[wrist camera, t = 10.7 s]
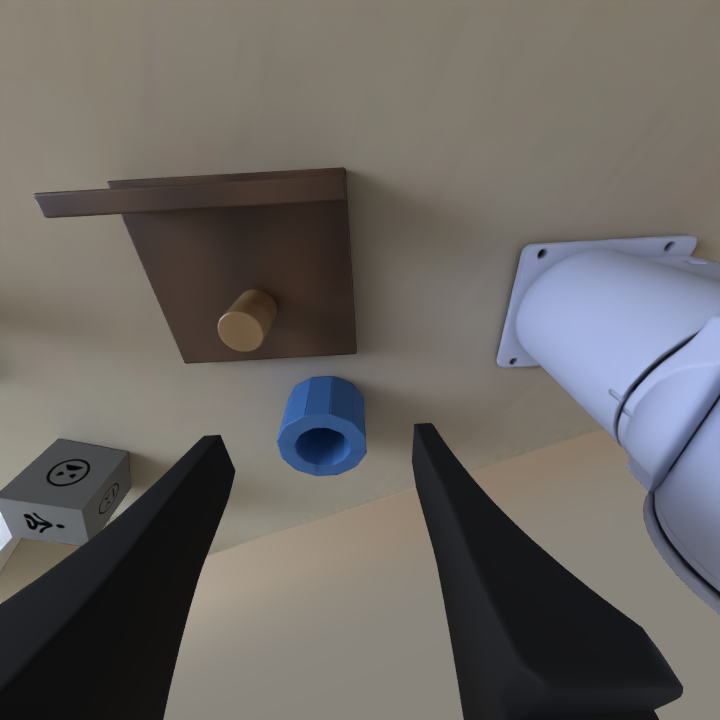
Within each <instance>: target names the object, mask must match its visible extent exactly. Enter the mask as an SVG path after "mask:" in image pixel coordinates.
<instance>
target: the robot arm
mask: <svg viewBox="0 0 720 720" xmlns="http://www.w3.org/2000/svg"><path fill="white" fill-rule="evenodd" d="M667 244H668V246H667V247H666V248H665V246H666V245H667ZM696 244H697V238H696V237H695V236H691V235H675V236H657V237H640V238H623V239H605V240H588V241H570V242H553V243H536V244H529V245H527V246H526V247H525V248H524V249H523V250H522V253H521V256H520V260H519V265H518V269H517V273H516V278H515V282H514V286H513V291H512V295H511V299H510V304H509V308H508V313H507V317H506V321H505V326H504V330H503V334H502V339H501V343H500V347H499V352H498V356H497V363H498V365H499V366H500V367H502V368H509V367H526V366H541V367H542V368H543V369H544V370H545V371H546V372H547V373H548V374H549V375H550V376H551V377H552V378H553V379H554V380H555V381H556V382H557V383H558V384H559V385H560V386H561V387H562V388H563V389H564V390H565V391H566V392H567V393H568V394H569V395H570V396H571V397H572V398H573V399H574V400H575V401H576V402H577V403H578V404H579V405H580V406H581V407H582V408H583V409H584V410H585V411H586V412H587V413H588V414H589V415H590V416H591V417H592V418H593V419H594V420H595V421H596V422H597V423H598V424H599V425H600V426H601V427H602V428H603V429H604V430H605V431H606V432H607V433H608V434H609V435H610V436H611V437H612V438H613V439H614V440H615V441H616V442H617V443H619V445H620V446H622V447H623V448H624V449H625V451H626V452H627V454H628V455H629V462H628V465H627V469H628V470H629V471H630V472H631V473H632V474H633V475H634V477H635V478H636V479H637V480H638V481H639V482H640V483H641V484H642V485H643V486H644V487H645V488H646V489H647V490H648V491H649V493H648V494H647V496H646V497H645V501H644V506H643V513H644V521H645V525H646V528H647V531H648V533H649V535H650V537H651V539H652V542H653V543H654V545H655V547H656V548H657V550H658V551H659V553H660V554H661V556H662V557H663V559H664V560H665V561H666V563H667V564H668V565H669V566H670V568H671V569H672V570H673V571H674V572H675V574H676V575H677V576H678V577H679V578H680V579H681V580H682V581H683V582H684V583H685V584H686V585H687V586H688V587H689V588H690V589H691V590H692V591H693V592H694V593H695V594H696V595H697V596H698V597H699V598H701V599H702V600H703V601H704V602H705V603H706V604H708V605H709V606H710V607H711V608H712V609H713V610H714V611H716V612H717V613H718V614H720V263H718V262H713V261H709V260H705V259H701V258H697V257H692V256H691V254H692V252H693V250H694V249H695V247H696ZM542 249H543V254H542V255H541V256H540V257H537V254H538V252H539V251H540V250H542ZM513 358H515V359H514V360H513V361H511V362H510V360H511V359H513ZM412 464H413V471H414V477H415V483H416V488H417V492H418V496H419V499H420V503H421V507H422V510H423V514H424V517H425V521H426V525H427V528H428V531H429V536H430V539H431V542H432V546H433V549H434V554H435V558H436V562H437V567H438V572H439V578H440V582H441V588H442V593H443V599H444V604H445V610H446V615H447V621H448V626H449V632H450V638H451V644H452V650H453V655H454V661H455V667H456V673H457V679H458V686H459V692H460V699H461V705H462V711H463V717H464V720H659V718H658V717H657V715H656V713H655V711H654V710H655V709H657V708H659V707H661V706H664V705H666V704H668V703H670V702H672V701H674V700H676V699H678V698H679V697H681V695H682V693H683V686H682V685H681V683H680V681H679V680H678V678H677V677H676V675H675V674H674V672H673V671H672V669H671V667H670V666H669V664H668V663H667V661H666V660H665V658H664V657H663V655H662V654H661V652H660V651H659V649H658V648H657V647H656V645H655V644H654V643H653V642H652V640H651V639H650V638H649V636H648V635H647V633H646V632H645V631H644V629H643V628H642V627H641V626H639V625H638V624H636V623H635V622H634V621H633V620H631V619H630V618H628V617H627V616H626V615H624V614H623V613H622V612H620V611H619V610H618V609H616V608H615V607H614V606H612V605H611V604H610V603H608V602H607V601H606V600H604V599H603V598H601V597H600V596H599V595H598V594H597V593H595V592H594V591H593V590H591V589H590V588H589V587H588V586H586V585H585V584H584V583H583V582H581V581H580V580H579V579H578V578H576V577H575V576H574V575H573V574H571V573H570V572H569V571H568V570H567V569H565V568H564V567H563V566H562V565H560V564H559V563H558V562H557V561H556V560H555V559H554V558H553V557H551V556H550V555H549V554H548V553H547V552H546V551H545V550H543V549H542V548H541V547H540V546H539V545H538V544H536V543H535V542H534V541H533V540H532V539H531V538H530V537H529V536H528V535H526V534H525V533H524V532H523V531H522V530H521V529H520V528H519V527H518V526H517V525H516V524H515V523H514V522H513V521H512V520H511V519H510V518H509V517H508V516H507V515H506V514H505V513H504V512H503V511H502V510H501V509H500V508H499V507H498V506H497V505H496V504H495V503H494V502H493V501H492V500H491V499H490V497H488V495H487V494H486V493H485V492H484V491H483V490H482V488H481V487H480V486H479V485H478V484H477V483H476V482H475V481H474V479H473V478H472V477H471V476H470V474H469V473H468V472H467V471H466V469H465V468H464V467H463V466H462V464H461V463H460V462H459V461H458V459H457V458H456V457H455V456H454V454H453V453H452V452H451V450H450V449H449V447H448V446H447V445H446V443H445V442H444V440H443V439H442V437H441V436H440V435H439V433H438V431H437V430H436V428H435V427H434V425H433V424H431V423H422V424H414V437H413V452H412ZM234 475H235V469H234V466H233V464H232V461H231V459H230V457H229V454H228V452H227V450H226V447H225V445H224V442H223V440H222V438H221V435H210V436H203V437H202V438H201V439H200V440H199V441H198V442H197V443H196V444H195V445H194V446H193V447H192V448H191V449H190V450H189V451H188V452H187V453H186V454H185V455H184V456H183V457H182V458H181V459H180V460H179V461H178V462H177V463H176V464H175V465H174V466H173V467H172V468H170V469H169V470H168V471H167V472H166V473H165V474H164V475H163V476H162V477H161V478H160V479H159V480H158V481H157V482H156V483H155V484H154V485H153V486H152V487H151V488H150V489H148V490H147V491H146V492H145V493H144V494H143V495H142V496H141V497H140V498H138V499H137V500H136V501H135V502H134V503H133V504H132V505H131V506H130V507H128V508H127V509H126V510H125V511H124V512H123V513H122V514H121V515H119V516H118V517H117V518H116V519H115V520H114V521H112V522H111V523H110V524H109V525H108V526H106V527H105V528H104V529H103V530H101V531H100V532H99V533H98V534H96V535H95V536H94V537H93V538H91V539H90V540H89V541H88V542H86V543H85V544H84V545H83V546H81V547H80V548H79V549H77V550H76V551H75V552H73V553H72V554H71V555H69V556H68V557H66V558H65V559H64V560H62V561H61V562H60V563H58V564H57V565H56V566H54V567H53V568H51V569H50V570H49V571H47V572H46V573H45V574H43V575H42V576H41V577H39V578H38V579H36V580H35V581H34V582H32V583H31V584H29V585H28V586H26V587H25V588H23V589H22V590H20V591H19V592H17V593H16V594H15V595H13V596H12V597H10V598H9V599H7V600H6V601H4V602H3V603H1V604H0V720H163V718H164V713H165V708H166V704H167V699H168V694H169V690H170V685H171V681H172V677H173V672H174V669H175V664H176V660H177V656H178V652H179V647H180V644H181V640H182V636H183V632H184V628H185V625H186V621H187V617H188V613H189V610H190V606H191V603H192V599H193V596H194V592H195V589H196V585H197V582H198V579H199V576H200V573H201V570H202V567H203V564H204V561H205V559H206V556H207V554H208V551H209V549H210V546H211V543H212V541H213V538H214V536H215V533H216V530H217V528H218V525H219V523H220V520H221V518H222V515H223V512H224V510H225V507H226V504H227V502H228V499H229V495H230V491H231V488H232V484H233V479H234Z"/></svg>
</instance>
